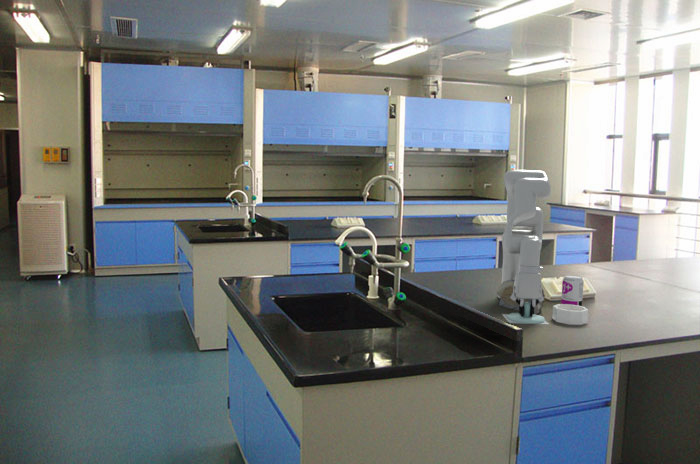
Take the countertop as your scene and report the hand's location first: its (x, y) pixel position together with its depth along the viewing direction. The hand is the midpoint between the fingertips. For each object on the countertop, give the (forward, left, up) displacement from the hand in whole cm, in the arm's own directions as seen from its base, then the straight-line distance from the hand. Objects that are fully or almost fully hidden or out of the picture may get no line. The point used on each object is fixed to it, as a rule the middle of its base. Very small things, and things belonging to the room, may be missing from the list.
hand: (526, 315), depth 228 cm
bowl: (0, +17, -2) cm, 17 cm away
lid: (0, 0, -1) cm, 1 cm away
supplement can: (-16, +23, -2) cm, 28 cm away
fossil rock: (-19, +2, -2) cm, 19 cm away
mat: (0, 0, -2) cm, 2 cm away
